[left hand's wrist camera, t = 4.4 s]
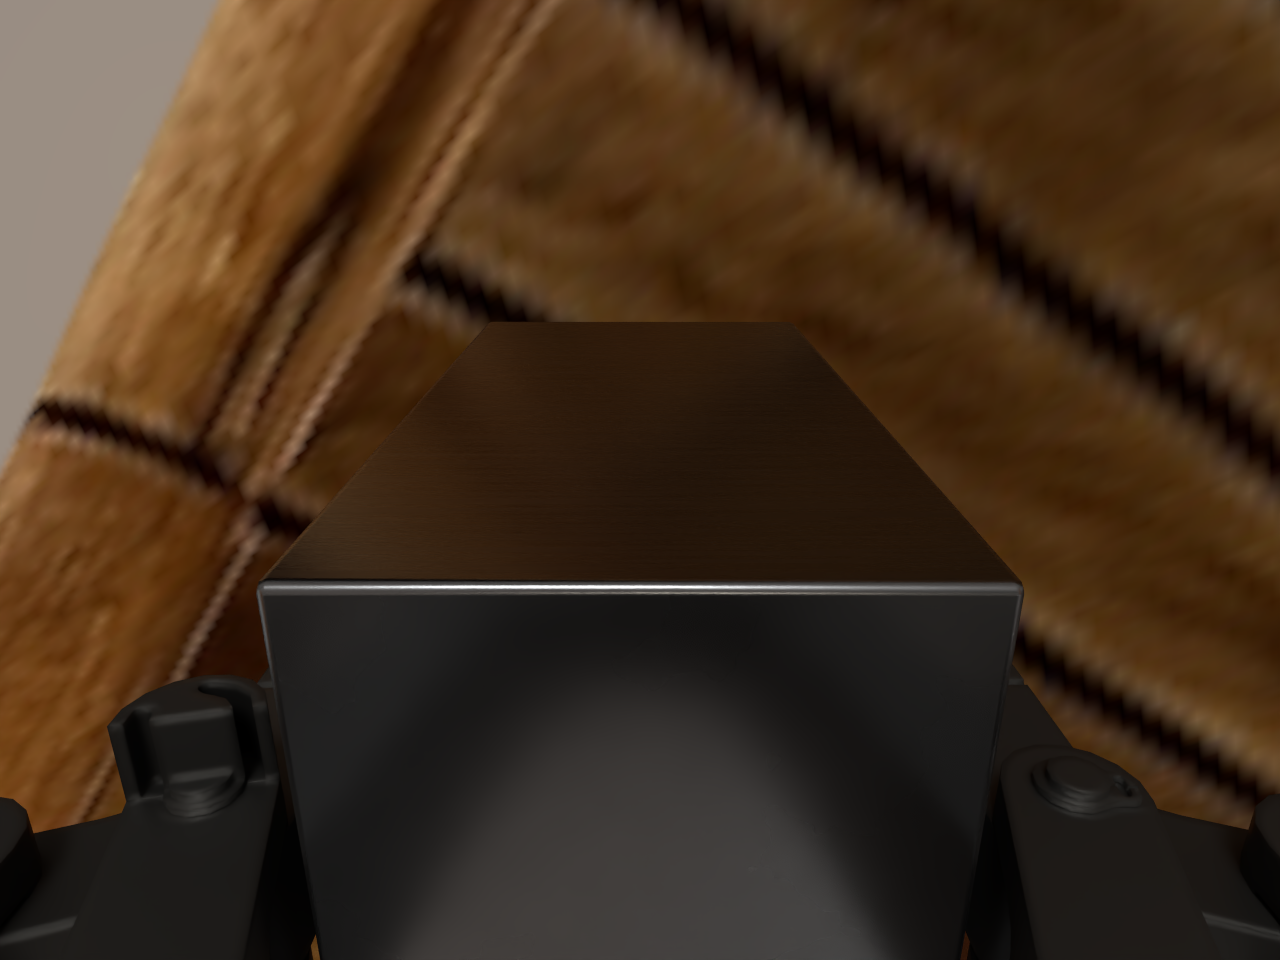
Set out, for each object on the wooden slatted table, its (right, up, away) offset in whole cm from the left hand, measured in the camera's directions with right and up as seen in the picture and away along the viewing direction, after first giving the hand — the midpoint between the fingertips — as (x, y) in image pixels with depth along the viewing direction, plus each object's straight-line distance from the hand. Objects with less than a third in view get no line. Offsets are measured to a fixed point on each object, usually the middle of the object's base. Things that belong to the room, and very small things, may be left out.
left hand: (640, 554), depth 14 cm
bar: (0, -8, +4) cm, 9 cm away
